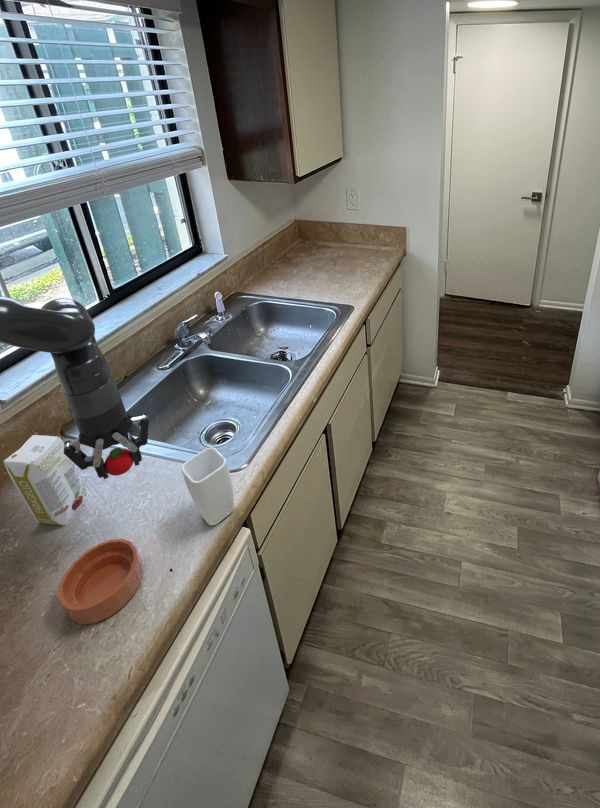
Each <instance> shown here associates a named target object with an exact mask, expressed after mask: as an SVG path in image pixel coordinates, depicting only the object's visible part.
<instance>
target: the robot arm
mask: <svg viewBox="0 0 600 808" xmlns="http://www.w3.org/2000/svg"><path fill="white" fill-rule="evenodd" d="M95 333H96V326H95V323H94V321H93V318H92V317H91V315H90V314H89V312H88V310H87V308H86V307H85V306H84V305H83V304H82V303H81V302H79V301H77V300H75V299H73V298H67V297H60V298H59V297H58V298H55V299H52V300H49V301H48V302H46V303H45V304H43V306H41V308H38V307H32V306H28V305H25V304H23V303H22V302H20V301H19V300H18V299H16V298H12V297H8V296H1V295H0V344H3V345H8V346H12V347H16V348H21V349H24V350H25V349H26V350H31V351H36V352H43V353H50V355H51V358H52V360H53V363H54V368H55V372H56V377H57V379H58V382H59V383H60V386H61V389H62V391H63V393H64V396H65V397H64V398H65V403H66V405H67V407H68V412H69V413H70V415H71V416H72V419H73V421H74V423H75V426H76V429H77V431H78V437H77V438H74V439H73V440H66V441H64V442H63V443H64V454H65V455H66V456H67V457H68V458H69V459H70V460H71V461H72V462H73V463H74V465H75V466H77V467H78V468H79V469H80V470H82V471H83V470H86V469H88V468H89V467H90V468H91V467H92V468H94V470H95V472H96V475H97V477H98V478H99V479H101V478H102V479H104V480H106V479H109V473H108V472H107V471H106V470H105V466H104V465H105V460H104V458H103V457H102V456H103V451H104V450H107V449H109V448H110V447H113V446H117V445H121V446H123V447H124V448H126V449H127V450H129V451H130V452H131V456H132V458H133V464H134V466H135V467H137V466H139V465H140V462H142V460H143V457H142V456H143V455H142V452H141V450H140V448H141V447H142V446H146V445H147V444H148V441H149V440H148V438H149V417H148V413H147V412H142V413H140V415H139V416H133V417H132V416H131V415H129V414H128V413H127V410H126V408H125V405H124V403H123V400H122V396H121V394H120V391H119V388H118V385H117V383H116V380H115V379H114V377H113V376H112V374H111V371H110V368H109V366H108V365H109V364H108V363H107V360H106V358H105V355H104V354H103V352H102V350H101V349H100V346H99V345H98V342H97V339H96V337H95V336H96V335H95ZM133 425H134V426H135V427H136V429H138V437H136V438H135V437H134V436H133V435H132V434H131V432H130V430H131V428H132V426H133ZM81 445H82V446H86V447H89V448H92V455H90V456H88V455H87V454H86V453H85V452H84V451H83V450H81Z"/></svg>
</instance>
